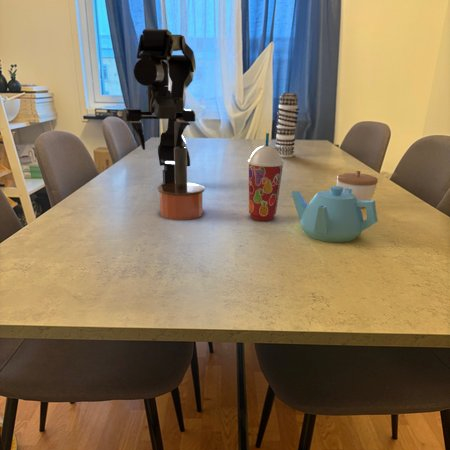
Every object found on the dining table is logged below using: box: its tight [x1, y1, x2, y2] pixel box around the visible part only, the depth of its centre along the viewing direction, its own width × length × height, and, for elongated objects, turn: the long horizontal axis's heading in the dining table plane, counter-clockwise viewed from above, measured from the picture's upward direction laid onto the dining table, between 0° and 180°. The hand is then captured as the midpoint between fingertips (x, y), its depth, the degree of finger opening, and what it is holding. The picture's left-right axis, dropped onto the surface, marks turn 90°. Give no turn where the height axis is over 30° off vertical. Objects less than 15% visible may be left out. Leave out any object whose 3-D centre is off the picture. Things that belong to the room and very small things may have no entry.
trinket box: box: [336, 170, 379, 209], centre depth 119 cm, size 11×11×9 cm
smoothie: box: [247, 132, 284, 222], centre depth 104 cm, size 8×8×20 cm
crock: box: [158, 192, 203, 221], centre depth 109 cm, size 11×11×6 cm
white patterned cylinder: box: [274, 92, 300, 158], centre depth 186 cm, size 9×9×25 cm
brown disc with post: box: [157, 147, 205, 196], centre depth 105 cm, size 12×12×11 cm
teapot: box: [290, 185, 379, 243], centre depth 96 cm, size 15×15×11 cm
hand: (160, 149), depth 119 cm, fingers open, 9 cm apart
